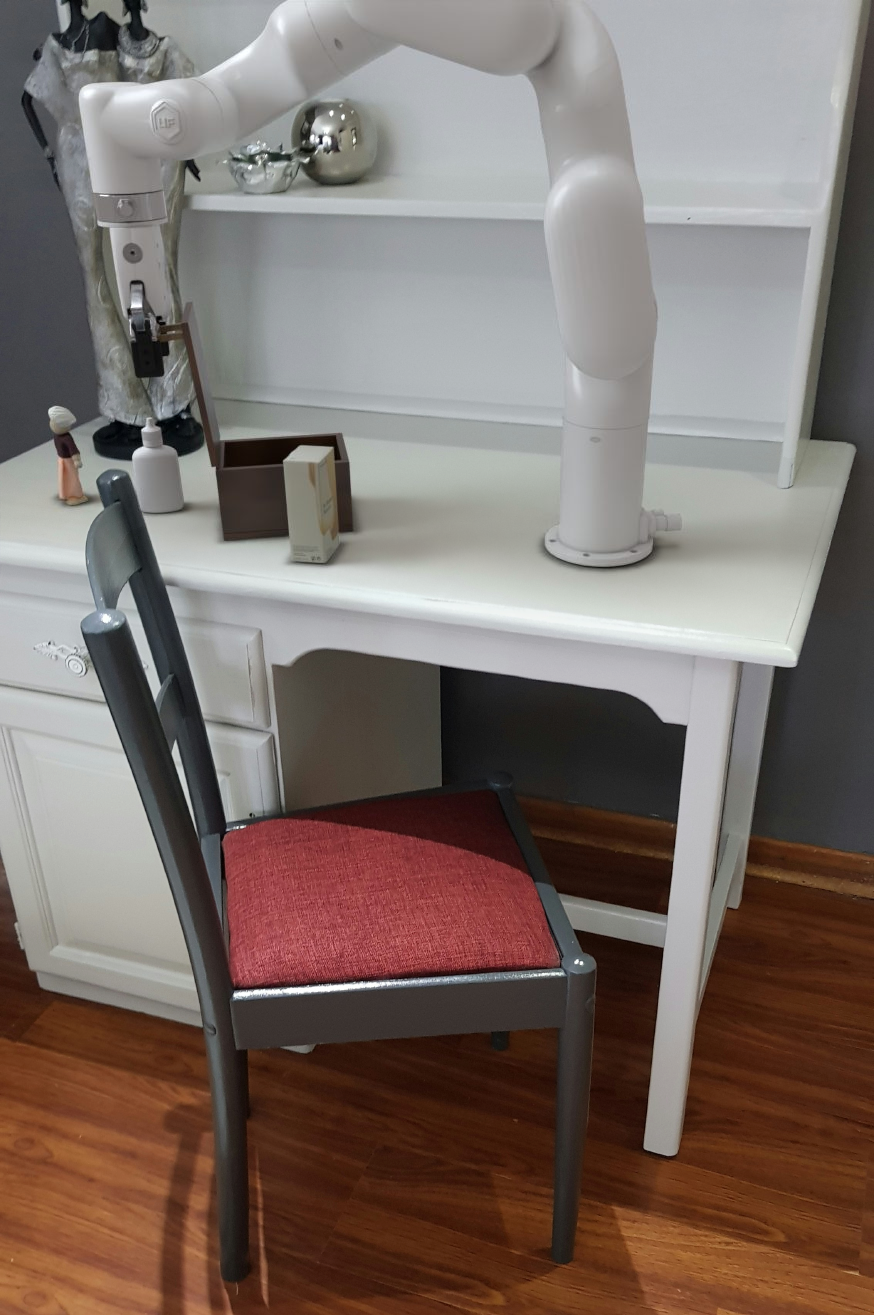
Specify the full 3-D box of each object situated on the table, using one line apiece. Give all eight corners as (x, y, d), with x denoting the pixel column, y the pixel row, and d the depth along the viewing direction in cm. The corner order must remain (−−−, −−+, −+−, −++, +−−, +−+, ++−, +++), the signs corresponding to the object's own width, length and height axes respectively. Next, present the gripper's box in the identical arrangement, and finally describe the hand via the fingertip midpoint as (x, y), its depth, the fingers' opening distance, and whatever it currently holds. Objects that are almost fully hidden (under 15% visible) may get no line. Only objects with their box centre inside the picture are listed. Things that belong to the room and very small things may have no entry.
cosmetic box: (326, 565, 128) (318, 463, 122) (290, 562, 129) (281, 461, 123) (341, 543, 133) (335, 445, 128) (306, 541, 134) (299, 443, 128)
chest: (346, 498, 147) (342, 432, 143) (353, 531, 137) (349, 461, 133) (225, 506, 145) (217, 440, 141) (223, 540, 135) (215, 470, 131)
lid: (192, 301, 132) (143, 308, 132) (187, 322, 122) (135, 329, 122) (220, 436, 141) (174, 443, 140) (218, 466, 130) (168, 473, 130)
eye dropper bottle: (154, 500, 148) (141, 411, 142) (190, 505, 146) (178, 415, 140) (134, 511, 144) (120, 421, 138) (170, 517, 142) (157, 425, 136)
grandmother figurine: (46, 497, 149) (28, 404, 143) (72, 490, 152) (55, 398, 146) (77, 511, 145) (60, 415, 138) (103, 503, 147) (87, 408, 141)
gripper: (160, 218, 114) (182, 383, 123) (170, 199, 129) (189, 347, 138) (85, 221, 113) (112, 387, 122) (104, 201, 128) (127, 351, 137)
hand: (153, 366), depth 130 cm, fingers open, 9 cm apart
